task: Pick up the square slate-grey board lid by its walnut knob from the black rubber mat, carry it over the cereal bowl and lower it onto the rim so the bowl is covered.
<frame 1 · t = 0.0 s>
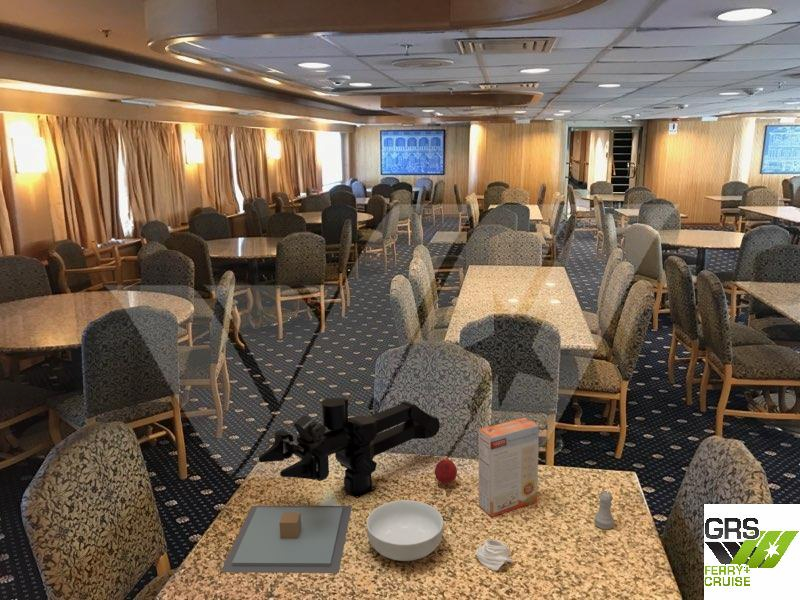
hand: (269, 466, 142), 17 cm above the table, fingers open, 9 cm apart
whipped cream: (493, 560, 135), on the table
mat: (291, 538, 143), on the table
onion: (445, 485, 165), on the table
cereal bowl: (405, 549, 139), on the table
grey chess piece: (603, 525, 146), on the table
cracker box: (507, 504, 155), on the table
lid: (291, 536, 143), resting on mat
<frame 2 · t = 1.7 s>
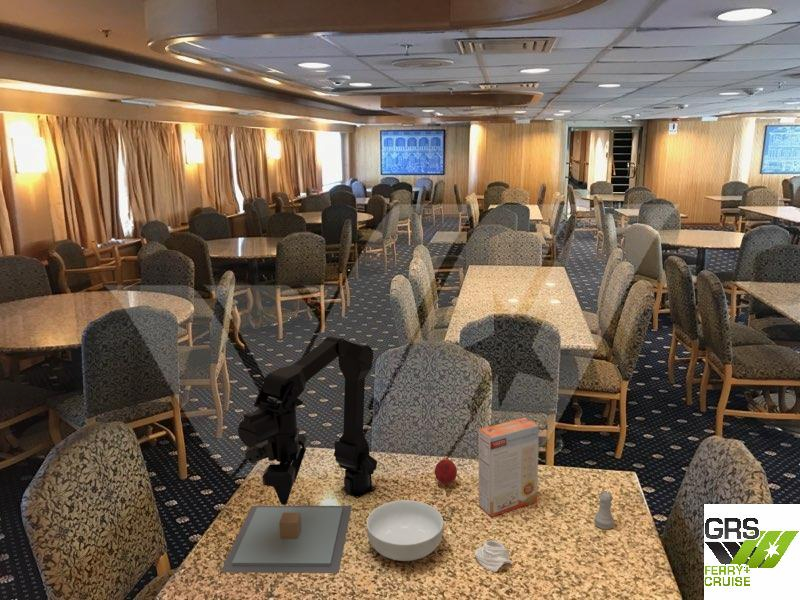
hand: (288, 493, 141), 11 cm above the table, fingers open, 9 cm apart
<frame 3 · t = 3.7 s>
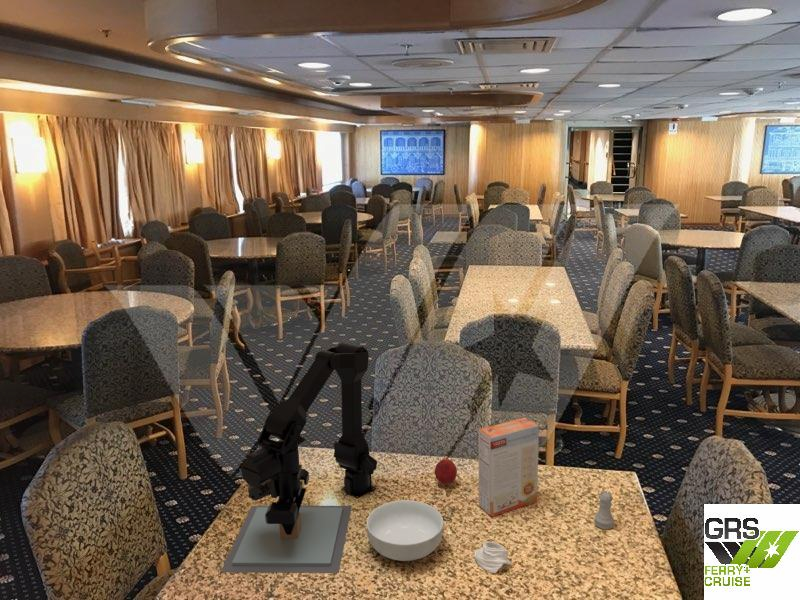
hand: (290, 528, 143), 3 cm above the table, fingers closed on lid, 4 cm apart
lid: (291, 536, 143), resting on mat, touching gripper
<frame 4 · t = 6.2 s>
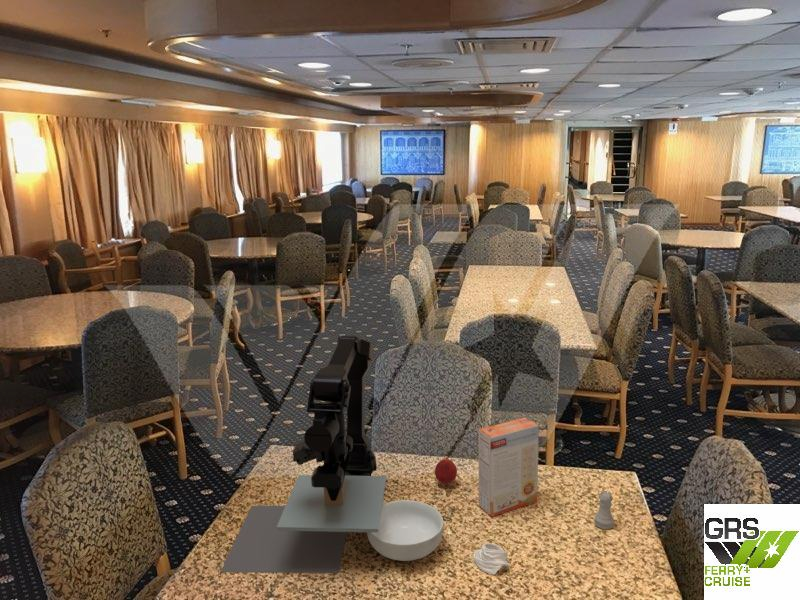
hand: (335, 494, 139), 12 cm above the table, fingers closed on lid, 4 cm apart
lid: (335, 503, 139), point 10 cm above the table, touching gripper
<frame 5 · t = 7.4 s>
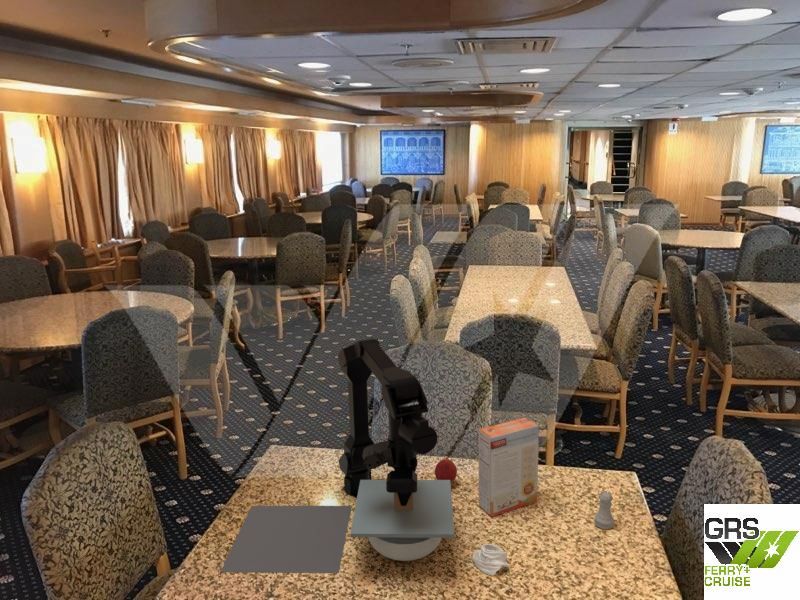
hand: (403, 499, 136), 12 cm above the table, fingers closed on lid, 4 cm apart
lid: (403, 508, 136), point 10 cm above the table, touching gripper
when the fingers open (10 cm above the table, at t = 8.7 s): lid drops 2 cm, resting on cereal bowl.
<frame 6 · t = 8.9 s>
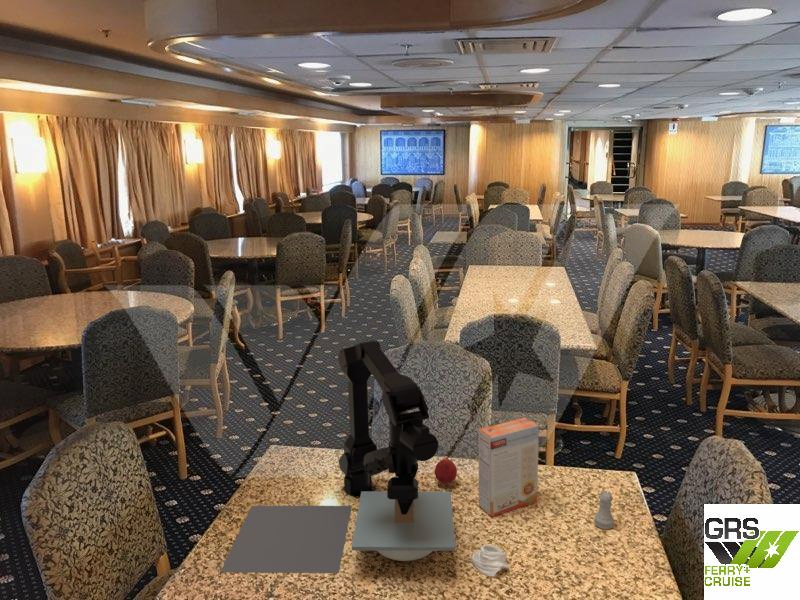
hand: (404, 506, 136), 10 cm above the table, fingers open, 6 cm apart
cereal bowl: (405, 549, 139), on the table, touching lid
lid: (404, 520, 137), point 7 cm above the table, touching cereal bowl
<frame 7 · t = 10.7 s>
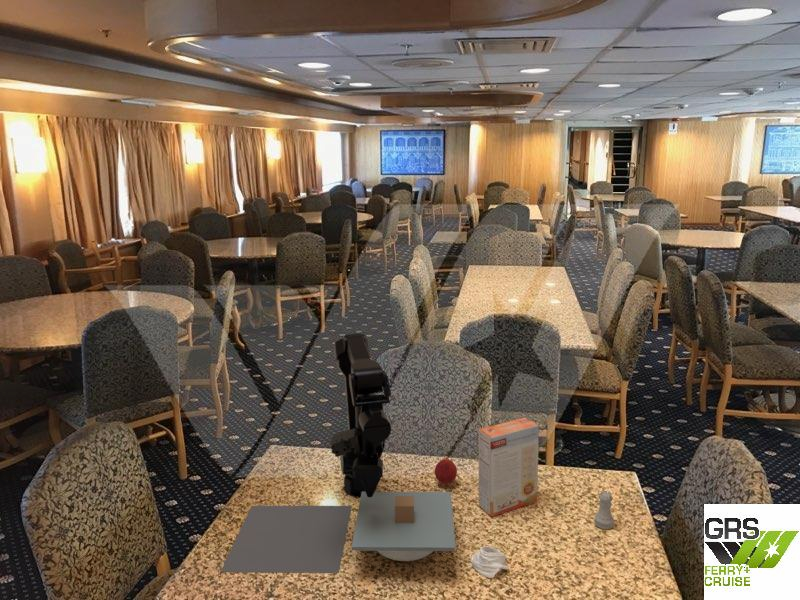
hand: (370, 485, 141), 13 cm above the table, fingers open, 9 cm apart
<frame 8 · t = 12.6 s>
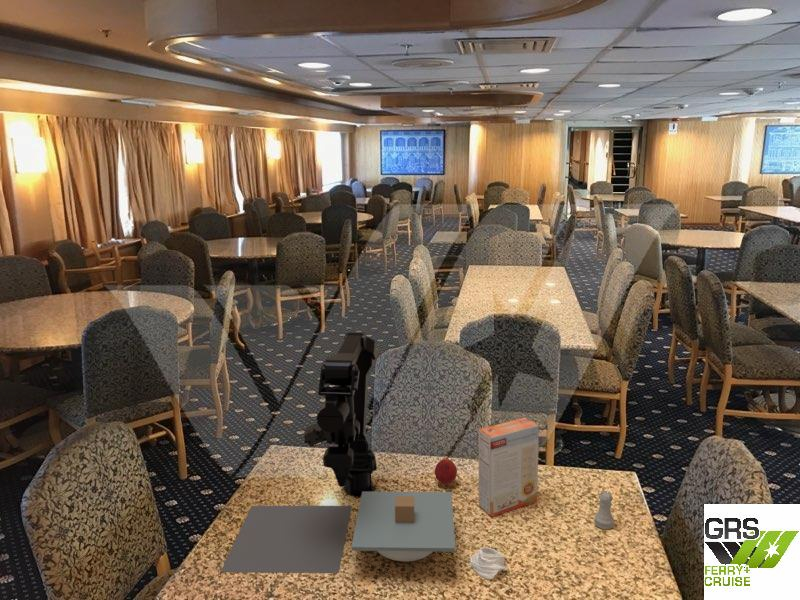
hand: (344, 475, 144), 13 cm above the table, fingers open, 9 cm apart
at the end: lid 0.1 cm off-centre on the cereal bowl, point 7.3 cm above the cereal bowl's base; lid tilted 0°; the gripper is holding nothing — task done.
